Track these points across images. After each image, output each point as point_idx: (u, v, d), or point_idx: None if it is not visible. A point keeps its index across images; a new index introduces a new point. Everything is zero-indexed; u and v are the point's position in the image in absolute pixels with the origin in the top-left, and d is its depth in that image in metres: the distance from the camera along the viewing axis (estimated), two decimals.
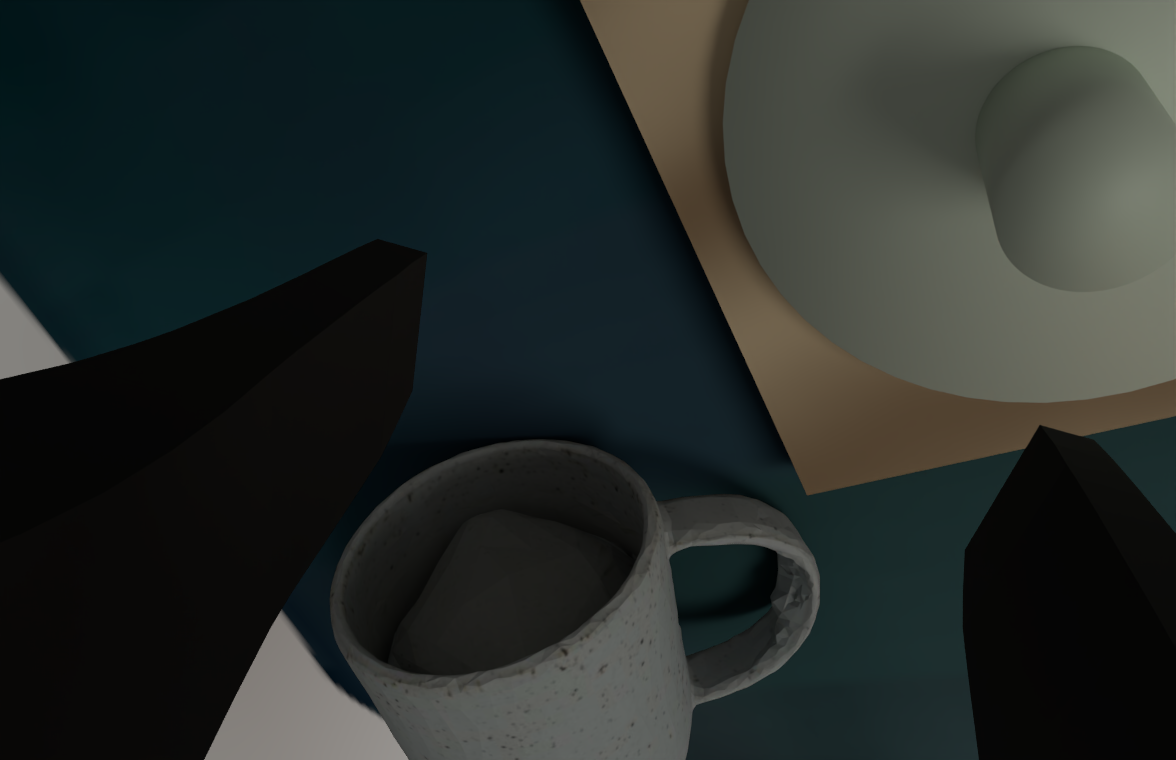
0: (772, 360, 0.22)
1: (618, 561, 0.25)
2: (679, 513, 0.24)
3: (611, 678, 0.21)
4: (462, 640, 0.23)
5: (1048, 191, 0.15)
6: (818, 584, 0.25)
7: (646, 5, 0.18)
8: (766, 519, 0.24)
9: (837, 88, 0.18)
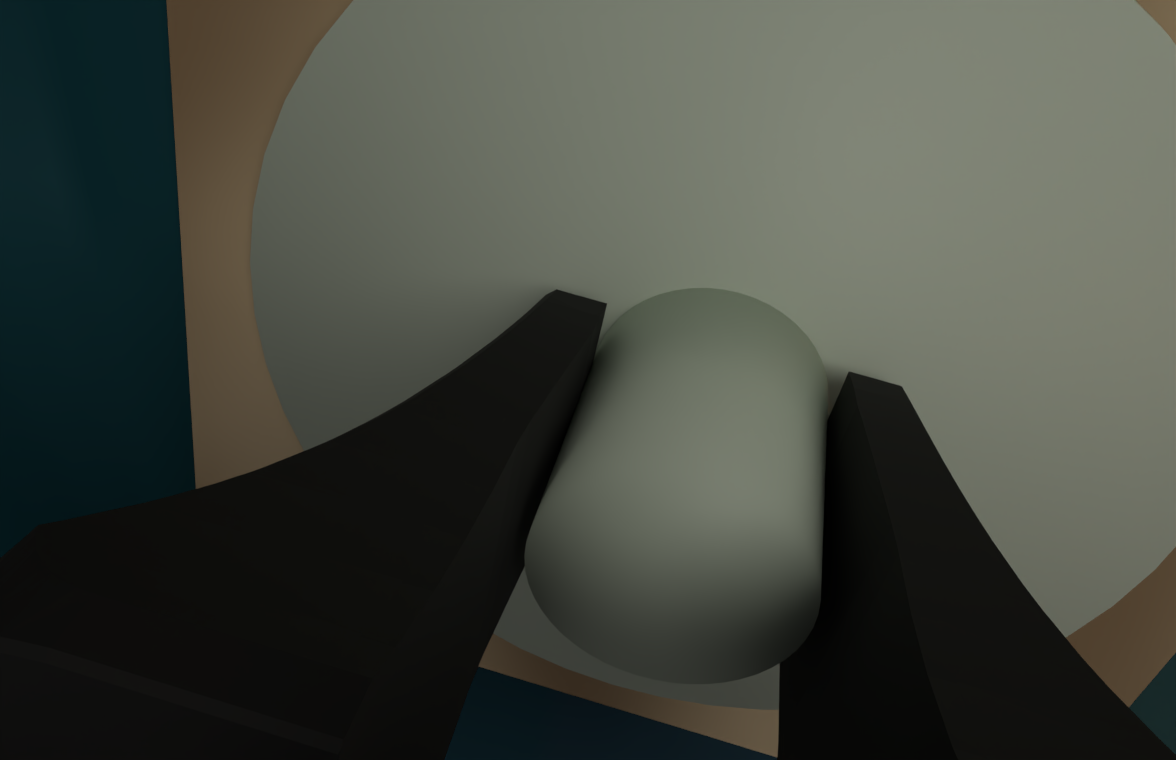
0: None
1: None
2: None
3: None
4: None
5: (606, 607, 0.10)
6: None
7: None
8: None
9: None
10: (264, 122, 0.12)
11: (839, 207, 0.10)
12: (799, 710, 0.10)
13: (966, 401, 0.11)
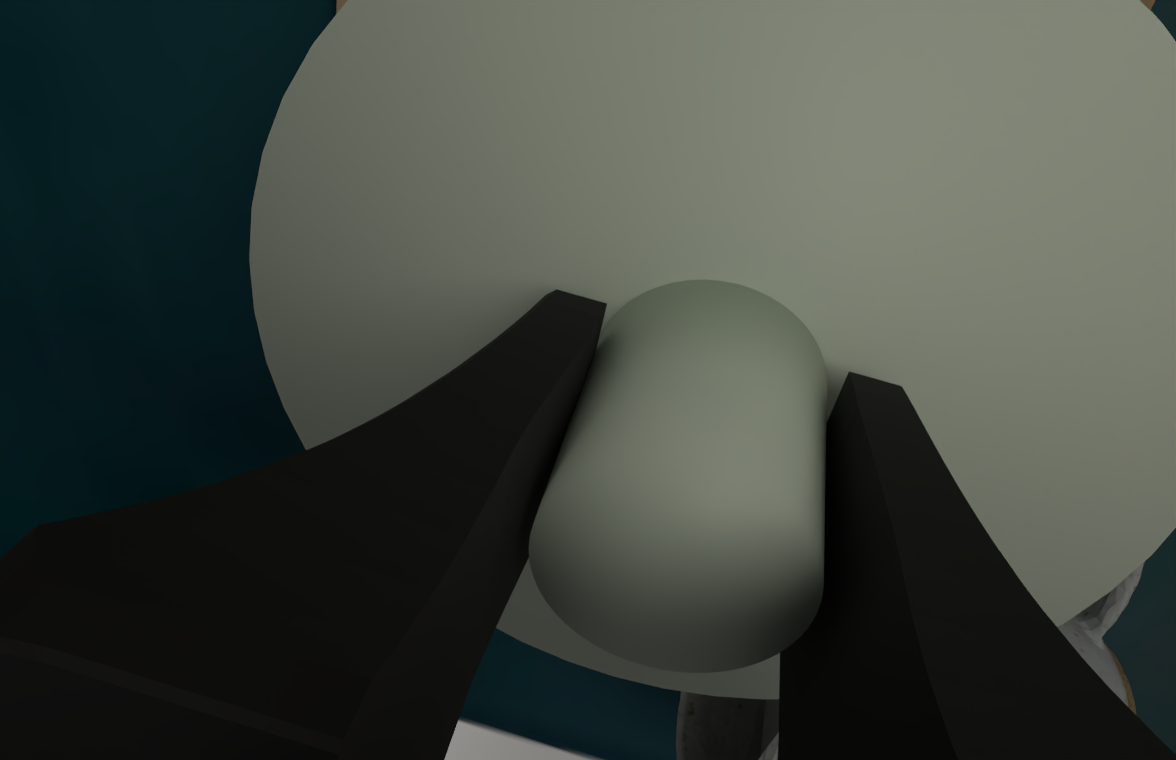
0: None
1: None
2: None
3: None
4: None
5: (610, 598, 0.10)
6: None
7: None
8: None
9: None
10: None
11: (835, 196, 0.11)
12: (799, 710, 0.10)
13: (963, 389, 0.12)
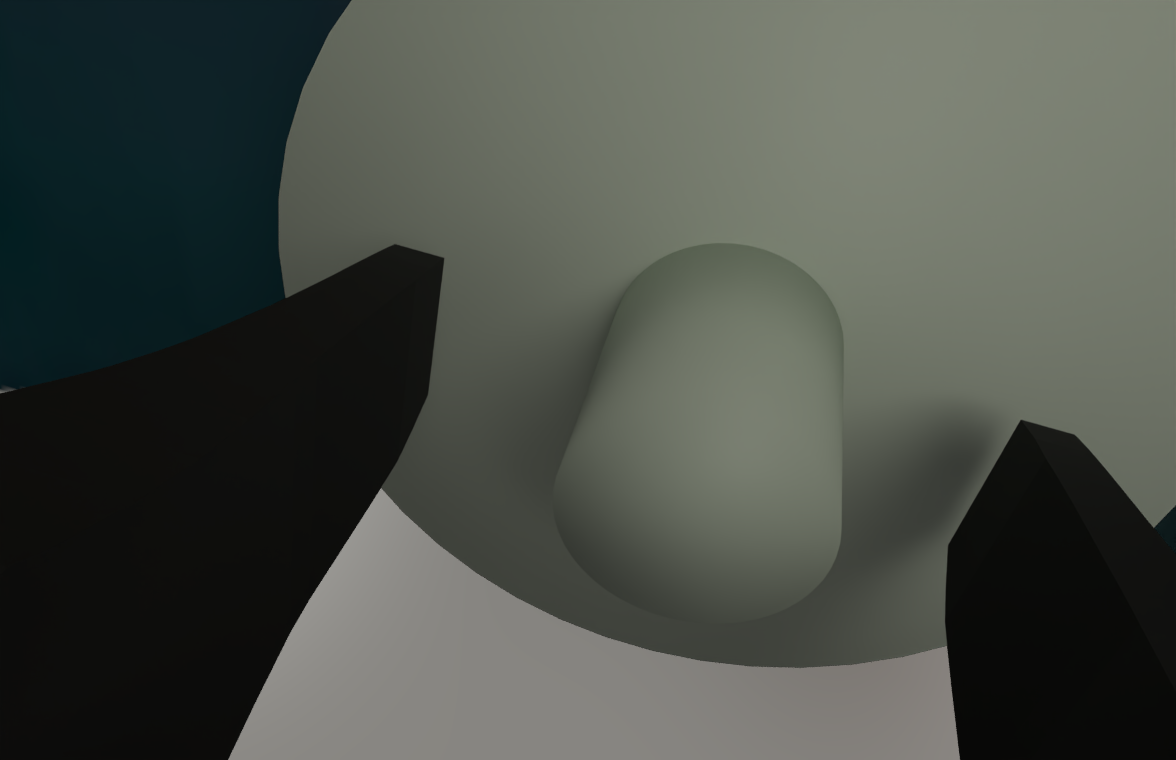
0: None
1: None
2: None
3: None
4: None
5: (634, 550, 0.10)
6: None
7: None
8: None
9: (538, 501, 0.15)
10: None
11: (841, 152, 0.11)
12: None
13: (979, 339, 0.12)
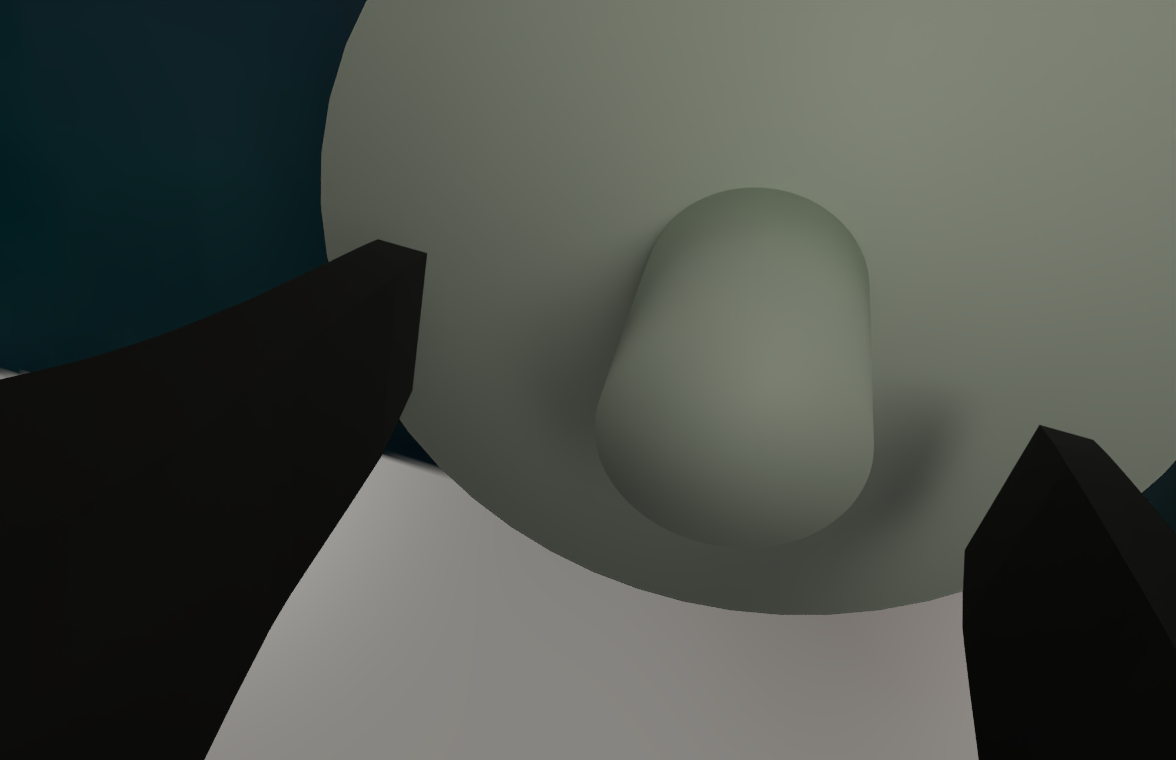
0: None
1: None
2: None
3: None
4: None
5: (673, 476, 0.11)
6: None
7: None
8: None
9: (571, 452, 0.15)
10: None
11: (866, 93, 0.11)
12: None
13: (1001, 276, 0.12)
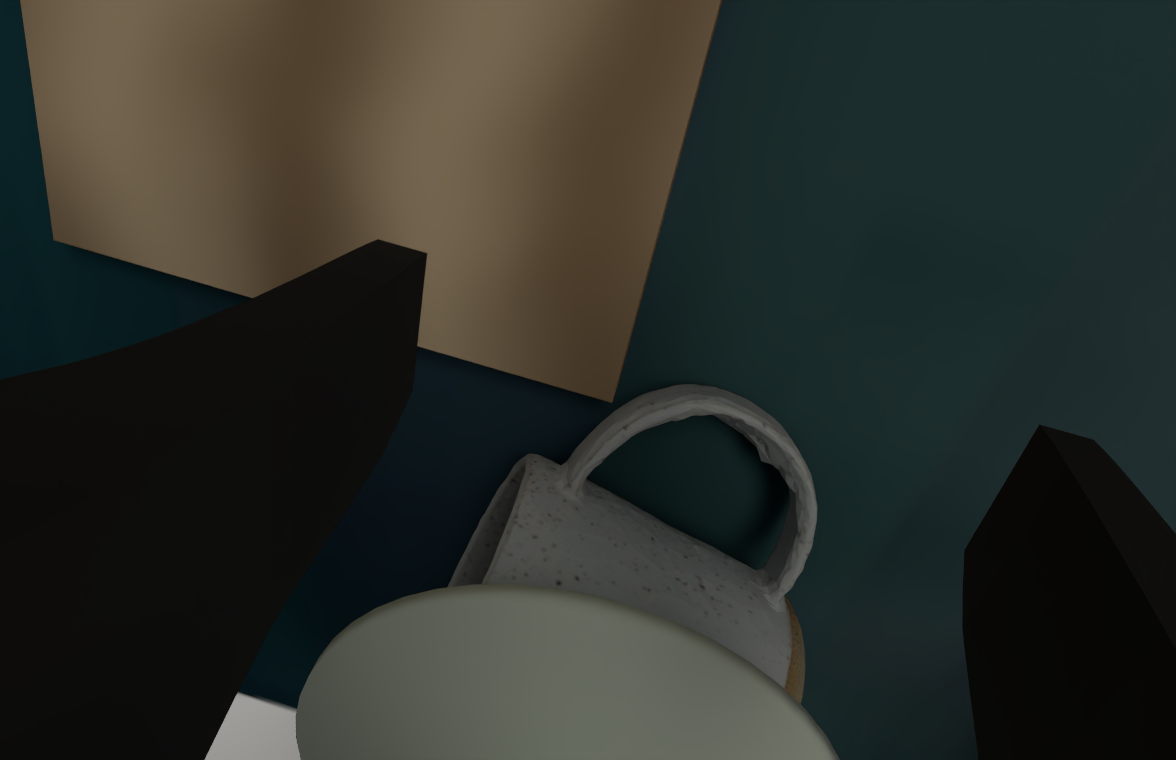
0: (460, 339, 0.24)
1: None
2: (573, 457, 0.24)
3: None
4: None
5: None
6: (748, 415, 0.23)
7: (143, 228, 0.24)
8: (645, 402, 0.23)
9: None
10: None
11: (608, 734, 0.19)
12: None
13: None
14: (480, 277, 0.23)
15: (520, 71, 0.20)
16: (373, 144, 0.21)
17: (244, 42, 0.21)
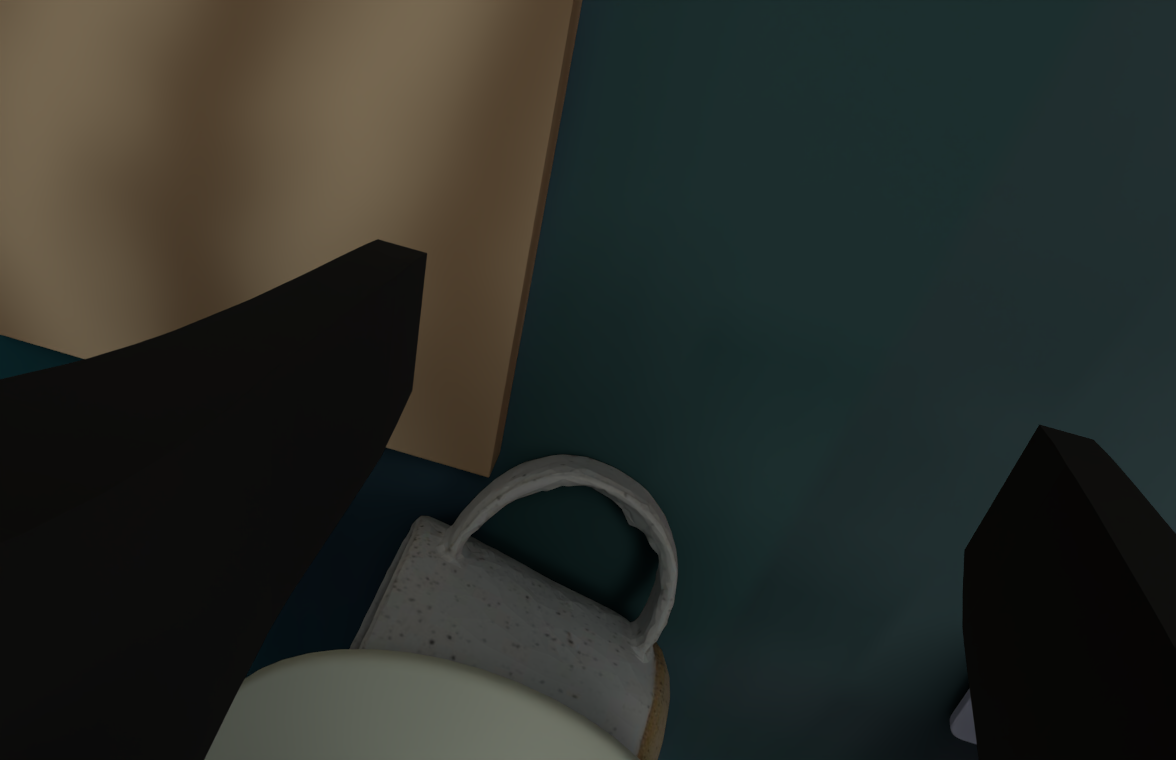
0: None
1: None
2: (457, 522, 0.26)
3: None
4: None
5: None
6: (611, 486, 0.25)
7: (64, 321, 0.26)
8: (520, 473, 0.26)
9: None
10: None
11: None
12: None
13: None
14: None
15: (382, 196, 0.22)
16: (260, 254, 0.24)
17: (141, 167, 0.23)
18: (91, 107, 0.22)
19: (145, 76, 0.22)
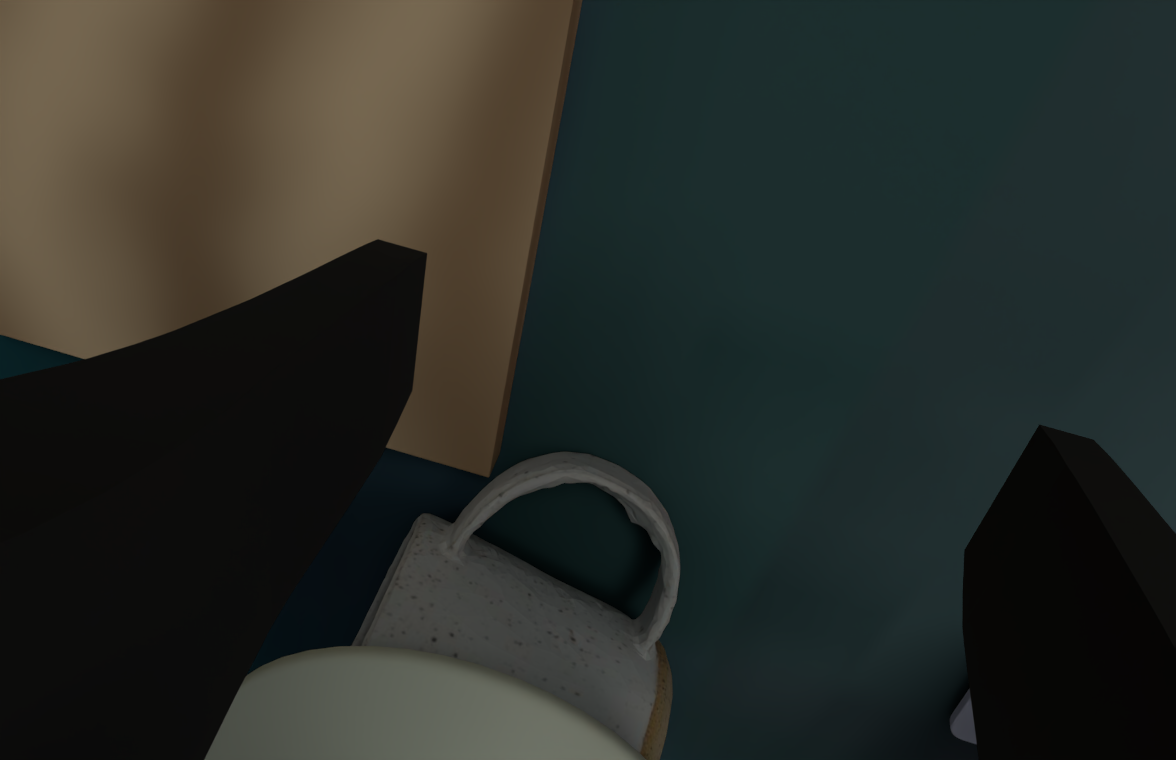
0: None
1: None
2: (459, 520, 0.26)
3: None
4: None
5: None
6: (613, 483, 0.25)
7: (64, 321, 0.26)
8: (522, 470, 0.26)
9: None
10: None
11: None
12: None
13: None
14: None
15: (382, 196, 0.22)
16: (260, 254, 0.24)
17: (141, 167, 0.23)
18: (91, 107, 0.22)
19: (145, 76, 0.22)
